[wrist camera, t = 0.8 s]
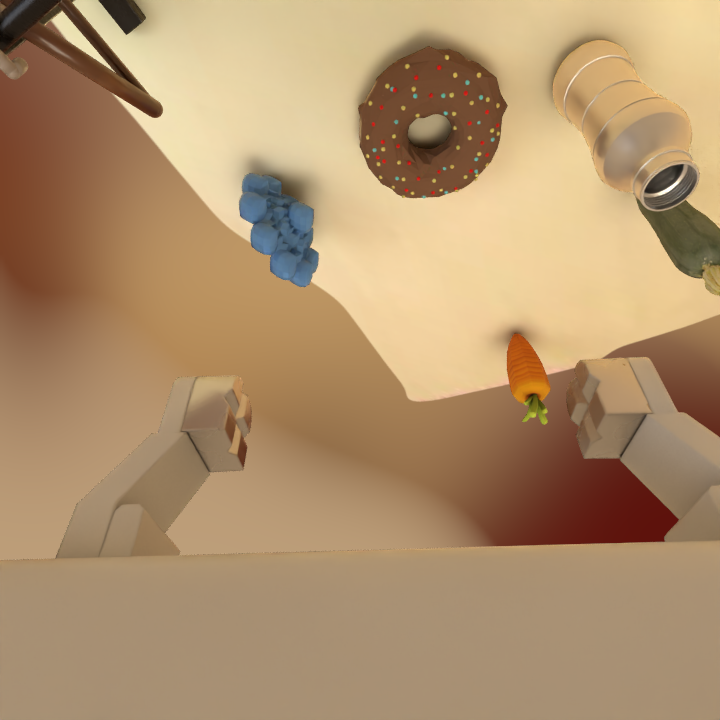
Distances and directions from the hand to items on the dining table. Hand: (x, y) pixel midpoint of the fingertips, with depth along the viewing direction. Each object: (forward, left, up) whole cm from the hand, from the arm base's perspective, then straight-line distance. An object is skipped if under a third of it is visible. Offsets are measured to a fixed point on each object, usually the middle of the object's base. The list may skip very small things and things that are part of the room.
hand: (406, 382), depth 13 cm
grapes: (+21, -8, -44) cm, 49 cm away
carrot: (+43, +22, -44) cm, 65 cm away
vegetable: (+18, +30, -44) cm, 56 cm away
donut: (+12, +6, -44) cm, 46 cm away
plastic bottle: (+8, +20, -44) cm, 49 cm away
